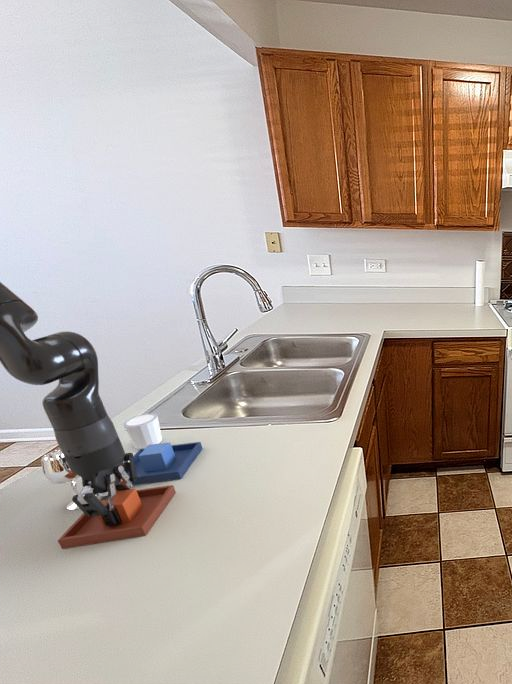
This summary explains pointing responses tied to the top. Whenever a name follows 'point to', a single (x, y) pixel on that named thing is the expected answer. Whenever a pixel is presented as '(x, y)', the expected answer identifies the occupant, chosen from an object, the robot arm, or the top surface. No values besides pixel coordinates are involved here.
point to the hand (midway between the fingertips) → (122, 514)
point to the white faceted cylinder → (143, 430)
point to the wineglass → (59, 472)
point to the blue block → (157, 457)
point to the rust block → (126, 505)
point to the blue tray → (175, 471)
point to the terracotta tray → (95, 532)
